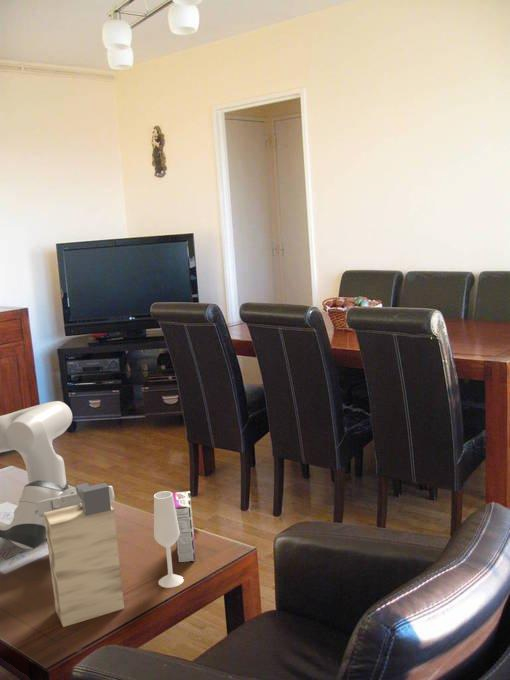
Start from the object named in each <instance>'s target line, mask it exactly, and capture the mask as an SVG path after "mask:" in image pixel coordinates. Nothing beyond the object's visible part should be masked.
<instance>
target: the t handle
mask: <svg viewBox="0 0 510 680" xmlns="http://www.w3.org/2000/svg"><path fill="white" fill-rule="evenodd" d="M108 486H109V485H108V484H107V483H106V482H102V483H97V484H92V485H89V483H88V482H84V483H81V484H76V485H75V488H76V493H77V494H78V496H79V497H80V498H81V500H82V507H83V513H84V514H85V515H86V516H89V515H93V514H97V513H102V512H106V511H110V510H111V506H112V505H111V503H110V496H109V487H108ZM110 505H111V506H110Z"/></svg>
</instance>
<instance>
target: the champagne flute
mask: <svg viewBox="0 0 510 680" xmlns="http://www.w3.org/2000/svg"><path fill="white" fill-rule="evenodd" d="M179 536H180V531H179V526H178V520H177V515H176V510H175V504H174V493H173V492H172V491H169V490H167V491H165V490H164V491H163V490H162V491H158V492H157V493H154V495H153V539H154V540H155V541H156V542H157V544H159V545H160V546H161V547H163V548H165V553H166V564H167V574H166V575H164V576H162V577H161V578H160V579H158V585H159V586H160V587H162V588H166V589H167V588H169V589H170V588H176V587H178V586H181V585H182V584H183V583H184V581H185V579H183V578H184V577H183V576H182V575H180V574H179V575H178V574H175V573H174V571H173V562H172V551H171V550H172V549H171V548H172V546H174V545H175V544H176V541H177V540H178V538H179Z"/></svg>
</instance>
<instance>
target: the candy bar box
mask: <svg viewBox="0 0 510 680" xmlns="http://www.w3.org/2000/svg"><path fill="white" fill-rule="evenodd" d="M173 499H174V504H175V510H176V515H177V520H178V526H179V531H180V536H179V538H178V540H177V541H176V542H175V544H176V553H177V561H178V562H184V563H191V562H190V561H193V562H196V540H195V539H196V538H195V530H194V520H193V509H192V498H191V491H190V490H188V491H177V492H175V491H174V492H173Z"/></svg>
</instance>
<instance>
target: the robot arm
mask: <svg viewBox="0 0 510 680" xmlns="http://www.w3.org/2000/svg"><path fill="white" fill-rule="evenodd" d="M72 422H73V412H72V410H71V408H70V406H68V404H66V403H65V402H63V401H60V400H56V401H48V402H45V403H41V404H36V405H34V406H30V407H27V408H23V409H20V410H16V411H13V412H11V413H10V412H9V413H7V414H3V415H0V453H4V452H10V451H16V452H18V453H19V454H20V456H21V458H22V459H23V462H24V466H25V468H26V473H27V474H26V475H27V480H28V483H27V484H25V485H24V486H23V490H22V491H21V492H22V493H21V495H20V497H19V501H18V505H17V506H16V508H15V509H14V513H13V518H12V521H10V522H9V523H5V522H2V521H0V538H1V539H3V540H6V541H10V542H11V543H12V544H13V545H15V546H17V547H19V548H22V549H27V550H32V549H33V550H34V549H36V548H38V547H40V546H41V545H42V544H43V543H44V542H46V540H47V534H46V526H45V518H44V513H45V512H50V511H54V510H58V509H62V508H67V507H71V506H75V505H79V503H81V502H82V500H81V498H80V497H79V496H78V494H77V493H76V487H74V488H73V487H71V488H70V486H69V484H68V483H69V482H67V476H66V469H65V468H66V466H65V461H64V457H62V456H61V455H60V454H57V453H56V452H55V450H54V446H53V441H54V440H55V439H56V438H57V437H59V436H61V435H62V434H64V433H65V432H66V431H67V430H68V428H69V427H70V426H71V424H72ZM108 487H109V496H110V504H111V503H112V502H113V501H114V500H115V491H114V487H113V485H108Z"/></svg>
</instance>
